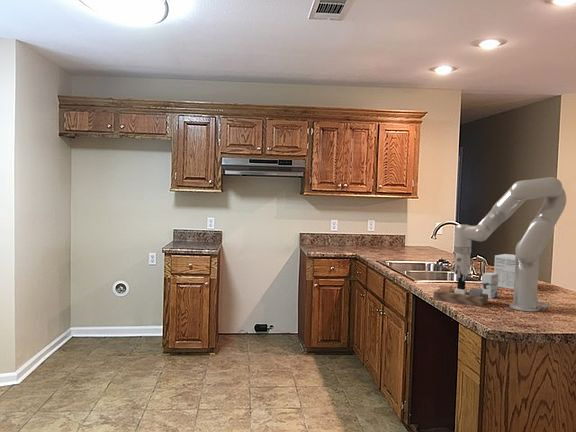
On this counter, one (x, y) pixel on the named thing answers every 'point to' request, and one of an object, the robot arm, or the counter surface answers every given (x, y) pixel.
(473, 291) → the key slate
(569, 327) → the counter surface
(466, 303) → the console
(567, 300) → the counter surface
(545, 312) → the counter surface
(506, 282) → the supplement box
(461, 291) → the key ivory
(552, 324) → the counter surface
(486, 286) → the ink box
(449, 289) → the key terracotta
